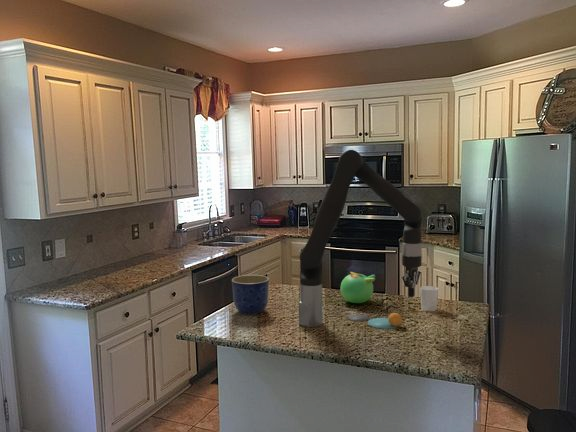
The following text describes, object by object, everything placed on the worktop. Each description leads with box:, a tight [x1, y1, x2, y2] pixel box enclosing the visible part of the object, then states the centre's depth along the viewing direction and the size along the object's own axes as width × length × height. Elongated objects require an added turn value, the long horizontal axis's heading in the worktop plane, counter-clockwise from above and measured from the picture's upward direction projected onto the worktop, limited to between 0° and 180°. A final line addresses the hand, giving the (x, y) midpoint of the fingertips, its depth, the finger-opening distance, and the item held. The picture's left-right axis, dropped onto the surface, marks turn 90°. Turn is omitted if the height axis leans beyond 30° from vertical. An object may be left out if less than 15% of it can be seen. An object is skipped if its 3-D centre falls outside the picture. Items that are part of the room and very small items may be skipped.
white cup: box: [419, 285, 439, 312], centre depth 214 cm, size 8×8×10 cm
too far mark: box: [347, 314, 370, 323], centre depth 204 cm, size 9×9×1 cm
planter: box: [231, 274, 270, 315], centre depth 214 cm, size 17×17×15 cm
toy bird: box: [340, 271, 376, 304], centre depth 227 cm, size 18×17×15 cm
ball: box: [387, 312, 403, 327], centre depth 193 cm, size 6×6×6 cm
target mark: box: [367, 317, 399, 330], centre depth 196 cm, size 13×13×1 cm
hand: (411, 296), depth 188 cm, fingers closed
